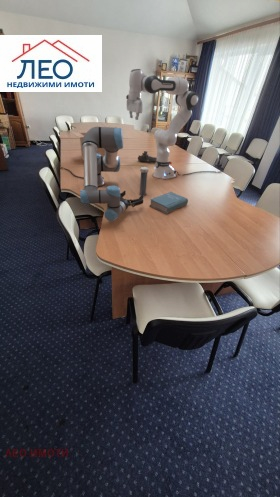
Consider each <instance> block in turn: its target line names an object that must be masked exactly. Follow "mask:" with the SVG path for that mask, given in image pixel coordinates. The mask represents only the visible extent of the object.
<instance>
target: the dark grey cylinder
mask: <svg viewBox="0 0 280 497" xmlns="http://www.w3.org/2000/svg"><path fill="white" fill-rule="evenodd" d="M147 182H148V172H146V173H144V172H141V171H140V181H139V195H140V196H141V195H143V196H146V194H147Z"/></svg>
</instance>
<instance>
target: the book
mask: <svg viewBox="0 0 280 497" xmlns="http://www.w3.org/2000/svg"><path fill="white" fill-rule="evenodd" d="M149 201H150V204H149V207H151V208H154V209H155V210H157V211H159V212H161V213H164V214H168V213H171V212H173V211H175V210H178V209H180V208H182V207H185V206H186V205H188V202H189V198H188V197H184V196H182V195H180V194H177V193H175V192H172V191H169V192H166V193H164V194H161V195H158V196H156V197H152V198H150V199H149Z"/></svg>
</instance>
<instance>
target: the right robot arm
mask: <svg viewBox="0 0 280 497" xmlns="http://www.w3.org/2000/svg"><path fill="white" fill-rule="evenodd" d="M128 85H129V89H128V94H126V96H125V98H126V110H127V111H128V113H129V118H130V119H133V118H134V115H133V113H135V121H138V120H139V117H140V114H142V113H143V101H142V93H147V94H156V93H158V92H160V91H161V92H162V91H163V92H166V94H168V95H173V96H175V98H174V100H175V104H176V105H177V106H179V107H180V109H179V111H178V112H176V114H175V115H174V116H173V117H172V119H171V120H170V121H169V126H168V128H167V129H163V128H161V129H157V130H155V132H154V133H153V134H154V135H153V137H154V140H155V144H156V158H157V159H156V163H154V164H155V165H154V171H153V175H152V176H153V177H154V178H156V179H162V180H169V179H173V178H177V175H178V176H180V174H179V172H178V171H177V170H176V169H174V168H173V167H172V166H171V165H172V164H173V162H172V161H169V158H170V150H169V147H174V146H175V144H176V143H177V140H178V139H177V138H178V135H179V133H180V131H181V130H182V129H183V127H185V125H186V124H187V123H188V121H189V120H190V119H191V117H192V115H193V110H194V109H195V107H196V106H197V105H198V102H199V94H198V93H197V92H195V91H192V90H191V91H190V90H189V86H190V85H189V81H188V80H187V79H186V78H183V77H180V76H179V77H178V76H169V77H168V78H167V79H160V78H159V77H158V76H156V75H147V74H145V72H143V71H142V69H141V68H135V69H131V71H130V72H129V78H128ZM222 172H223V170H221V171H219V173H222ZM197 173H198V171H194V172H190V173H184V174H183V176H188V175H191V174H197ZM199 173H215V170H213V171H212V170H211V171H210V170H202V171H199ZM176 174H177V175H176Z"/></svg>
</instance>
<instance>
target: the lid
mask: <svg viewBox="0 0 280 497" xmlns="http://www.w3.org/2000/svg"><path fill="white" fill-rule="evenodd" d="M139 169H140V170H139V172H140V173H141V172H144V173H146V172H147V173H149V167H146V166H141V167H140V168H139Z"/></svg>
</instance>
